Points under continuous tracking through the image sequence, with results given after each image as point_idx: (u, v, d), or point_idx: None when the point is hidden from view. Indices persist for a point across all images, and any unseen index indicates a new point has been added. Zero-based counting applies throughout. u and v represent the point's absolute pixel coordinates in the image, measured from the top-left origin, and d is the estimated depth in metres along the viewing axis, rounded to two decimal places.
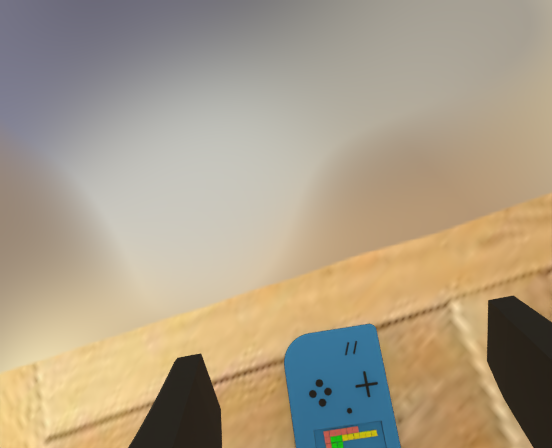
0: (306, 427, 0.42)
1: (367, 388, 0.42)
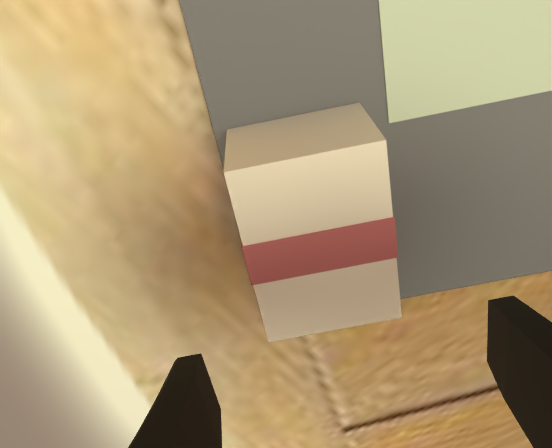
0: None
1: None
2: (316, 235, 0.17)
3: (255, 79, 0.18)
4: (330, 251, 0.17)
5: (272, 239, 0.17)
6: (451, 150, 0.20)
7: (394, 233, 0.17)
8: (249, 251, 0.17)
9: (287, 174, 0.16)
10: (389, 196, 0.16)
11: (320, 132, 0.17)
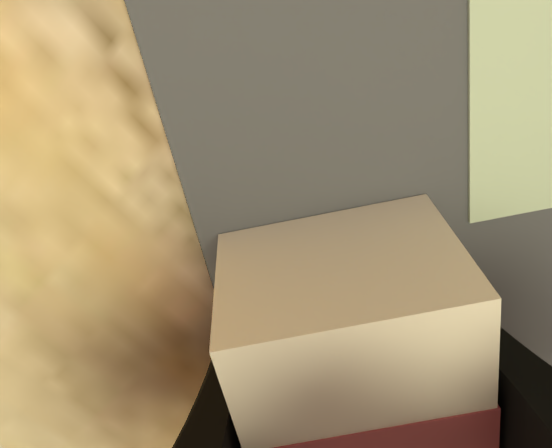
0: None
1: None
2: (367, 436, 0.10)
3: (263, 162, 0.11)
4: None
5: (292, 440, 0.10)
6: None
7: (497, 430, 0.10)
8: None
9: (323, 353, 0.09)
10: (495, 380, 0.09)
11: (373, 260, 0.10)
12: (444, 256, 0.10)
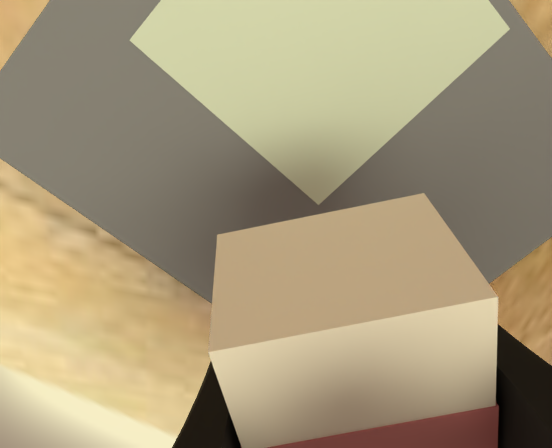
0: None
1: None
2: (367, 435, 0.10)
3: (192, 240, 0.21)
4: None
5: (292, 439, 0.10)
6: (390, 189, 0.20)
7: (495, 427, 0.10)
8: None
9: (321, 352, 0.09)
10: (493, 378, 0.10)
11: (371, 259, 0.10)
12: (442, 255, 0.10)
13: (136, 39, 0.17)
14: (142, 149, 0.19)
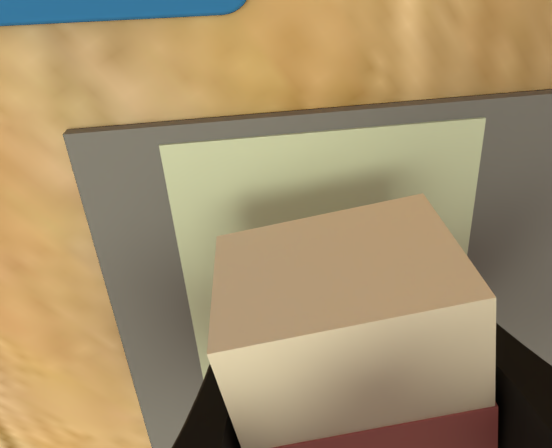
0: None
1: None
2: (366, 435, 0.10)
3: None
4: None
5: (292, 440, 0.10)
6: (507, 302, 0.17)
7: (495, 428, 0.10)
8: None
9: (319, 354, 0.09)
10: (492, 378, 0.10)
11: (369, 260, 0.10)
12: (440, 255, 0.10)
13: None
14: None
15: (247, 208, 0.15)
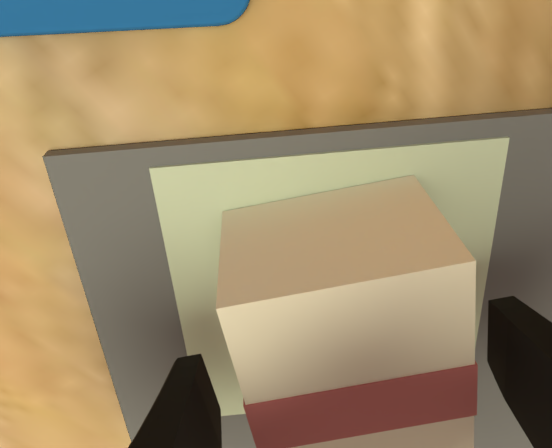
0: None
1: None
2: (357, 389, 0.11)
3: None
4: (377, 409, 0.11)
5: (290, 394, 0.11)
6: None
7: (475, 385, 0.11)
8: (255, 412, 0.11)
9: (317, 310, 0.10)
10: (472, 337, 0.11)
11: (364, 231, 0.11)
12: (427, 227, 0.11)
13: None
14: None
15: None
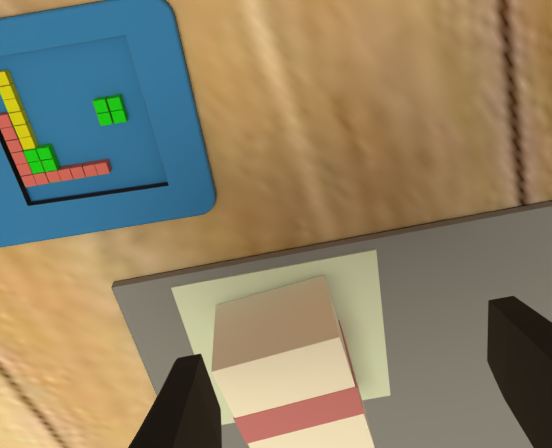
0: (25, 218, 0.20)
1: None
2: (294, 405, 0.20)
3: None
4: (307, 414, 0.21)
5: (258, 410, 0.21)
6: (420, 354, 0.25)
7: (358, 397, 0.20)
8: (240, 421, 0.21)
9: (263, 367, 0.19)
10: (349, 373, 0.20)
11: (289, 319, 0.21)
12: (322, 315, 0.20)
13: (221, 422, 0.27)
14: None
15: None
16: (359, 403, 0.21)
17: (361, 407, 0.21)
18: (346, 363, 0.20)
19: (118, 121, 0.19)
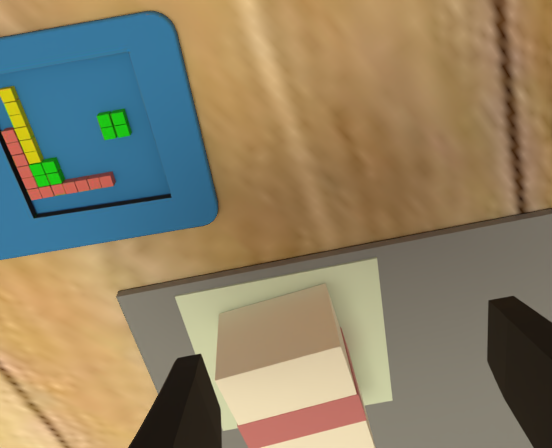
0: (31, 230, 0.21)
1: None
2: (296, 412, 0.21)
3: None
4: (310, 421, 0.21)
5: (261, 417, 0.21)
6: (421, 360, 0.25)
7: (360, 404, 0.21)
8: (244, 428, 0.21)
9: (266, 376, 0.20)
10: (351, 381, 0.20)
11: (291, 327, 0.21)
12: (323, 323, 0.20)
13: (225, 428, 0.27)
14: None
15: None
16: (361, 410, 0.21)
17: (363, 414, 0.21)
18: (347, 371, 0.20)
19: (122, 135, 0.19)
